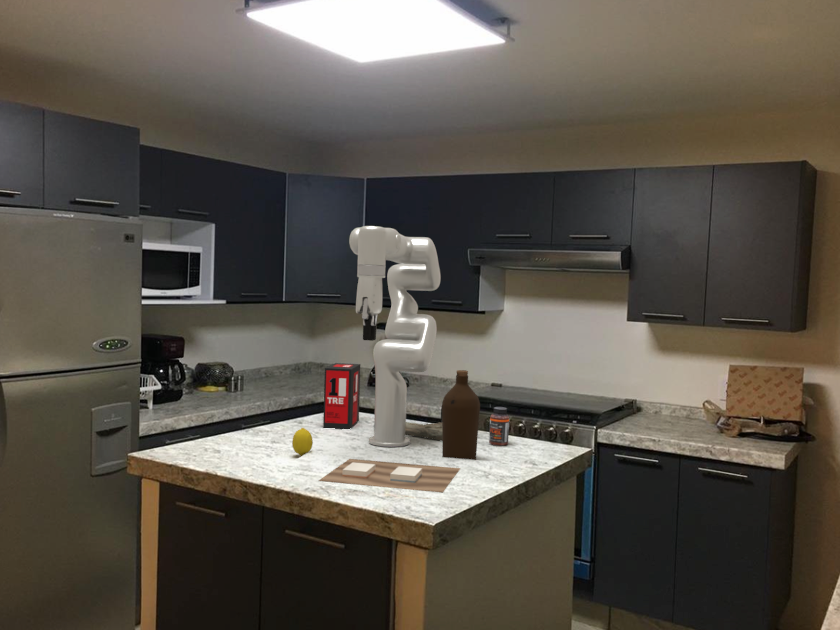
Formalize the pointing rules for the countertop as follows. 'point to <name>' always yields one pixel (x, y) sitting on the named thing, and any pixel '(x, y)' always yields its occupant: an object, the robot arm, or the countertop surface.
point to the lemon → (302, 441)
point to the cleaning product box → (341, 395)
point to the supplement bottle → (499, 427)
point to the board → (428, 481)
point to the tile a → (359, 470)
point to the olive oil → (460, 420)
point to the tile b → (406, 474)
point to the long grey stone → (425, 430)
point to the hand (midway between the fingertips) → (369, 340)
